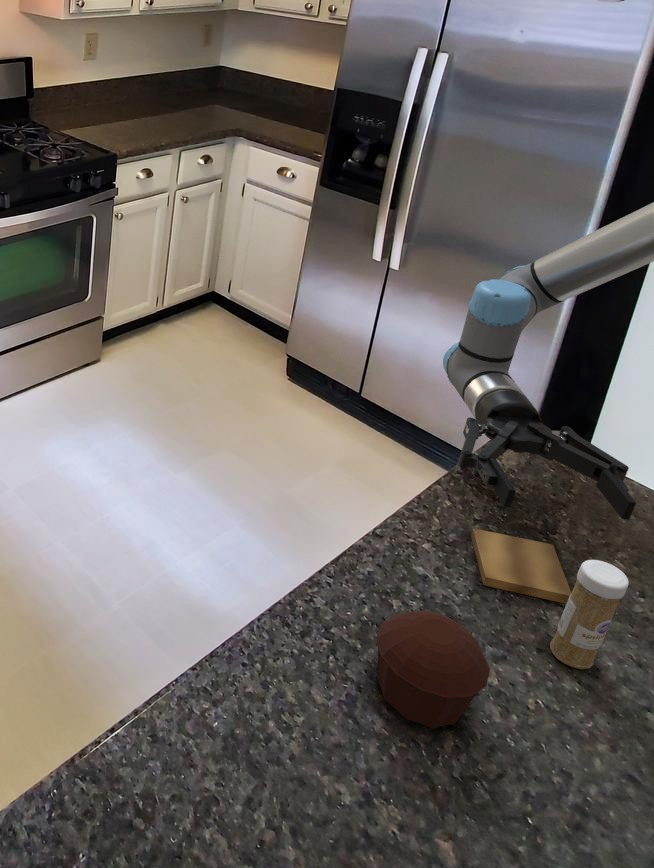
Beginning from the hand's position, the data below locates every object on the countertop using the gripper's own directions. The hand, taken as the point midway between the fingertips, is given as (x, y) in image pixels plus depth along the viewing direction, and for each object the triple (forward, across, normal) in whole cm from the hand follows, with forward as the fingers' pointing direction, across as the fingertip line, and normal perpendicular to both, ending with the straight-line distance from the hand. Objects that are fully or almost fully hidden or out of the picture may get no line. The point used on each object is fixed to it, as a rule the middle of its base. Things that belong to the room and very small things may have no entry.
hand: (569, 505), depth 99 cm
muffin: (+18, +20, -15) cm, 31 cm away
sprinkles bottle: (+10, 0, -15) cm, 18 cm away
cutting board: (-4, 0, -15) cm, 16 cm away
